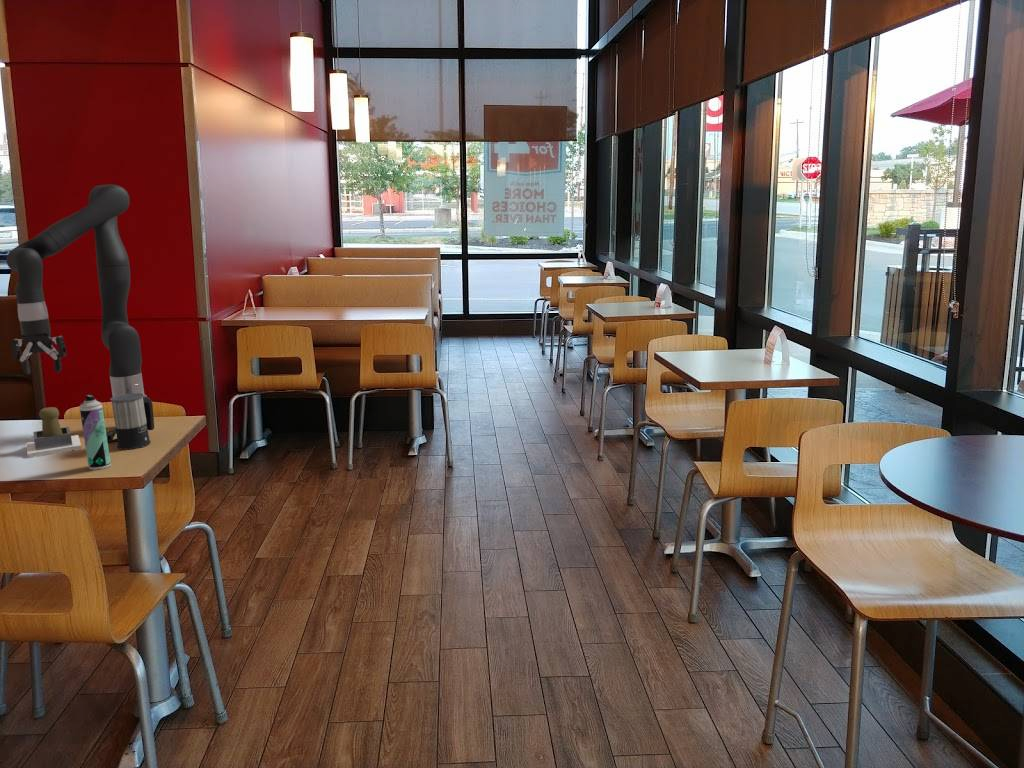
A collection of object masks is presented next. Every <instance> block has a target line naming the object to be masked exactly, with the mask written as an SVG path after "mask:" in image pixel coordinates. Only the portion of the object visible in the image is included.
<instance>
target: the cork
mask: <svg viewBox="0 0 1024 768" xmlns="http://www.w3.org/2000/svg"><path fill="white" fill-rule="evenodd" d="M38 413H39V414H38V416H39V418H40V420H41V421H42V422H41V423H42V424H41V426H42V428H41V429H42V430H41V431H42V437H46V436H53V435H60V434H63V433H62V430H61V428H62V427H61V424H60V421H59V416H60V412H59V409H58V408H57V407H54V406H52V407H51V406H50V407H49V406H48V407H44V408H42V409H40V410H39V412H38Z"/></svg>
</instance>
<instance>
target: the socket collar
mask: <svg viewBox="0 0 1024 768" xmlns="http://www.w3.org/2000/svg"><path fill="white" fill-rule="evenodd" d="M61 430H62V433H63V434H60V435H53V436H46V437H42V430H37V431H33V434H32V435H33V442H34V443H35V449H36V451H37V450H43V449H50V448H56V447H63V446H69V445H72V439H71V436H72V434H71V430H70V426H65V427H61Z"/></svg>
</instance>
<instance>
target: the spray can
mask: <svg viewBox="0 0 1024 768" xmlns="http://www.w3.org/2000/svg"><path fill="white" fill-rule="evenodd" d="M79 412H80V418H81V425H82V433H83V439H84V444H85V453H86V458H87V463H88V465H87V466H88V469H89V470H90V469H91V470H90V471H98V470H97V469H101V470H105V469H107V467H108V468H110V467H111V465H112V463H111V456H110V449H109V443H108V442H107V436H106V433H107V430H106V422H105V416H104V409H103V405H102V402H101V401H98V400H97V399H96V398H95V397H94V395H92V394H86V395H85V400H84V401H83V402H82V403H81V404H80V405H79ZM109 466H110V467H109ZM104 468H105V469H104Z"/></svg>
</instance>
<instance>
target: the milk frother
mask: <svg viewBox="0 0 1024 768" xmlns="http://www.w3.org/2000/svg"><path fill="white" fill-rule="evenodd" d="M144 395H145V394H144ZM144 395H143V394H141V393H131V394H123V395H118V396H115V397H113V396H112V397H111V398H110V400H109V401H111V405H112V411H113V420H114V421H113V422H114V426H115V428H112V429H111V430H108V431H106V436H107V442H108V444H116V443H117V446H116V448H118V449H119V450H132V449H133V450H135V449H140V448H144V447H146V446H149V445H151V440H150V435H149V431H153V430H154V429H155V420H154V419H155V417H154V407H153V401H152V399H151V398H150V397H148V396H147V397H145V396H144ZM115 436H116V438H115Z"/></svg>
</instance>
